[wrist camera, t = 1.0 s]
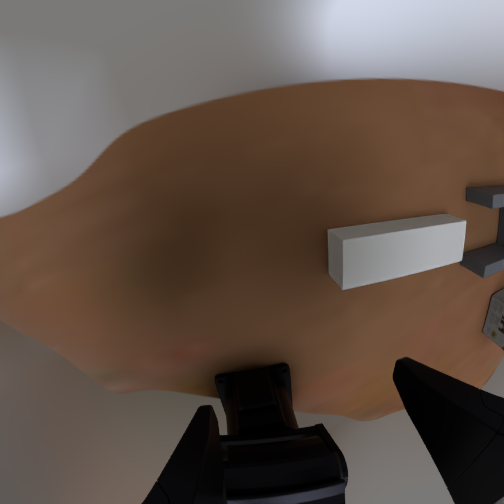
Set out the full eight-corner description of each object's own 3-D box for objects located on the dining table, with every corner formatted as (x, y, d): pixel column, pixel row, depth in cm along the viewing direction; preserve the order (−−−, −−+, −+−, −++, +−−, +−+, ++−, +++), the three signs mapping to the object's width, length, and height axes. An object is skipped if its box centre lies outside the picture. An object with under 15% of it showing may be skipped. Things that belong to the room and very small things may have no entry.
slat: (441, 249, 22) (461, 260, 19) (327, 272, 21) (342, 290, 18) (443, 212, 21) (466, 220, 18) (325, 228, 20) (342, 240, 17)
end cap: (501, 250, 23) (521, 261, 20) (460, 264, 22) (483, 278, 19) (507, 185, 20) (529, 191, 17) (466, 187, 20) (493, 195, 16)
